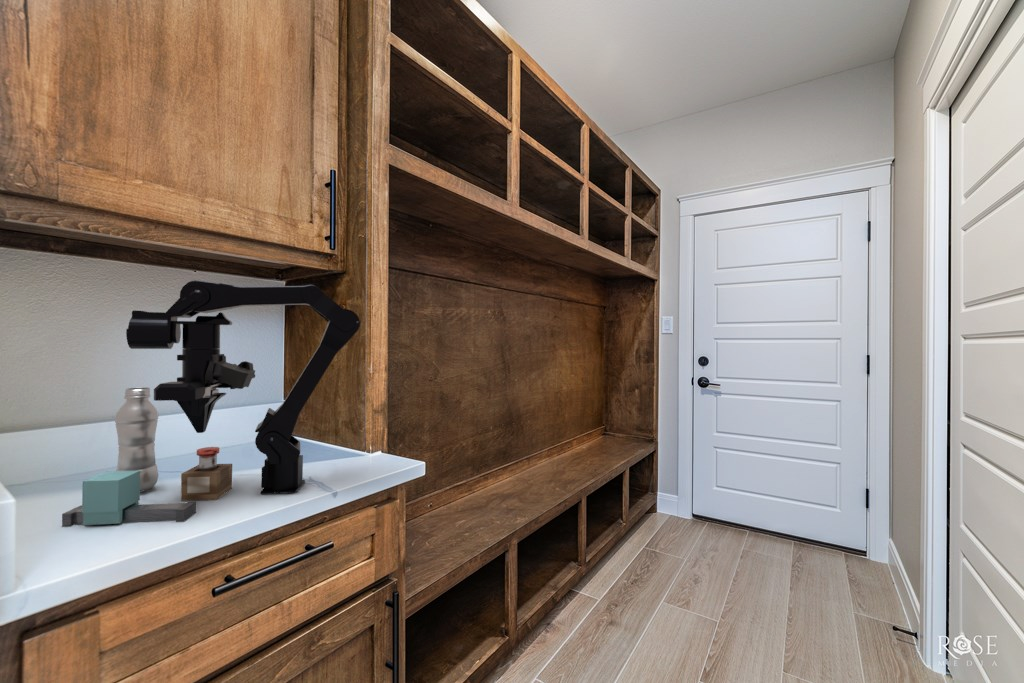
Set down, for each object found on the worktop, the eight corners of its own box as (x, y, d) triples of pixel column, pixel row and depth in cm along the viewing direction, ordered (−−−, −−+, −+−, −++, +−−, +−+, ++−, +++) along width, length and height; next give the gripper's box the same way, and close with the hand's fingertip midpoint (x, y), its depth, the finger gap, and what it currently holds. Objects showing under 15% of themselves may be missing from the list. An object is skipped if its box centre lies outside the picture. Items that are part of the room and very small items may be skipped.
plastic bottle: (166, 485, 88) (168, 386, 88) (139, 498, 81) (140, 390, 81) (133, 485, 88) (135, 386, 88) (103, 497, 81) (105, 390, 81)
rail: (196, 512, 75) (196, 501, 75) (183, 521, 72) (184, 509, 72) (80, 517, 72) (80, 505, 72) (62, 526, 69) (62, 514, 69)
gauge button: (222, 474, 86) (223, 446, 86) (213, 480, 82) (213, 451, 82) (202, 475, 85) (202, 447, 85) (192, 481, 82) (192, 451, 82)
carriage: (139, 511, 74) (140, 470, 74) (117, 524, 69) (118, 480, 69) (106, 513, 74) (106, 471, 74) (81, 525, 69) (82, 481, 69)
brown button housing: (231, 488, 87) (232, 463, 87) (215, 500, 81) (216, 473, 81) (198, 489, 86) (199, 464, 86) (179, 501, 80) (180, 474, 80)
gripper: (226, 351, 74) (226, 443, 74) (266, 348, 92) (265, 421, 92) (151, 350, 72) (151, 445, 72) (207, 347, 90) (207, 423, 90)
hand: (201, 432), depth 82 cm, fingers closed
